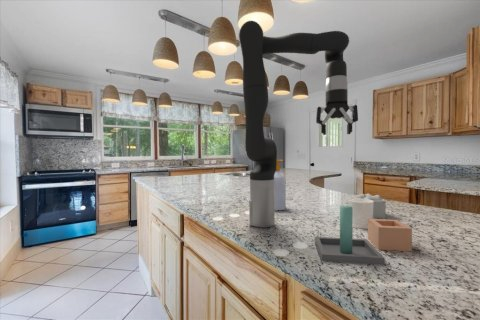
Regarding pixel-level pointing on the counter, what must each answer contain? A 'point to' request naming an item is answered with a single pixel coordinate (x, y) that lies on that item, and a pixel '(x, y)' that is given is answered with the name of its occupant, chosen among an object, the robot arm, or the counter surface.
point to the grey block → (375, 204)
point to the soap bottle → (279, 189)
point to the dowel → (346, 229)
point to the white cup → (361, 212)
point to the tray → (360, 254)
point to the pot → (390, 234)
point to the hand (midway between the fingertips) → (336, 134)
